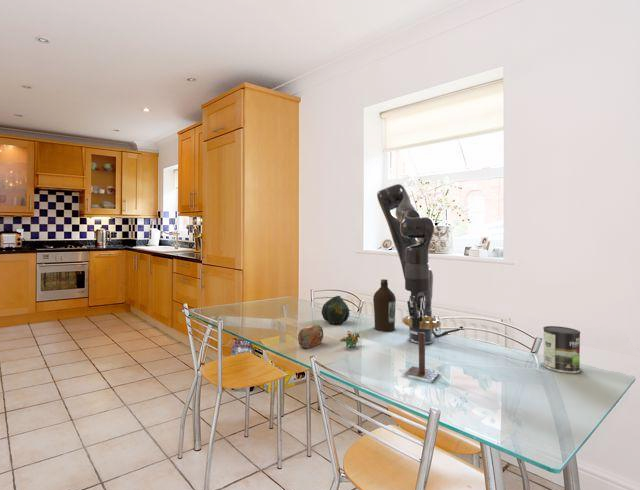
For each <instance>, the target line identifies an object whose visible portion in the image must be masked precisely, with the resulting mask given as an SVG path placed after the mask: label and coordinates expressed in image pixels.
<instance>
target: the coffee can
mask: <svg viewBox="0 0 640 490" xmlns="http://www.w3.org/2000/svg"><path fill="white" fill-rule="evenodd" d="M542 330H543V367H544V368H546V369H548V370H551V371H554V372H559V373H565V374H578V373H580V372H581V370H580V367H581V366H580V361H581V360H580V357H581V351H580V350H581V345H580V344H581V331H580V330H578V329H576V328H571V327H566V326H558V325H557V326H556V325H546V326H543V329H542Z"/></svg>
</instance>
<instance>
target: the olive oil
mask: <svg viewBox="0 0 640 490" xmlns="http://www.w3.org/2000/svg"><path fill="white" fill-rule="evenodd" d="M395 295H396V294H395V292H393V291H392V290H391V289H390V288H389V282H388V279H387V278H383V279H382V278H381V279H380V288H378V289H377V290H376V291H375V292H374V294H373V299H372V300H373V301H372V302H373V316H374V319H373V320H374V328H375V330H376V331H380V332H393V331H395V328H396V306H397V305H396V302H397V300H396V299H397V298H396V296H395Z"/></svg>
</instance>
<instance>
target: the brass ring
mask: <svg viewBox="0 0 640 490" xmlns="http://www.w3.org/2000/svg"><path fill="white" fill-rule="evenodd" d="M402 323H403V324H404V325H405V326H407V327H408V328H409V327H412V317H411V316H409V315H406V316H404V317H402ZM441 325H442V322H441V320H439V319H438V318H436V317H433V316H432V317H429V316H422V322H421V321H420V328H419V329H433V330H434V329H438V328H439V327H441Z"/></svg>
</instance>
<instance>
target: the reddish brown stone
mask: <svg viewBox="0 0 640 490" xmlns="http://www.w3.org/2000/svg"><path fill="white" fill-rule="evenodd" d="M323 339H324V330H323V328H322V327H321V325H315V324H313V325H310V326H307V327H303V328H301V329H300V330H299V332H298V334H297V341H298V342H297V343H298V345H299V346H300V347H301V348H304V349H310V348H312V347H316V346H318V345H321V343H322V342H323Z"/></svg>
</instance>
